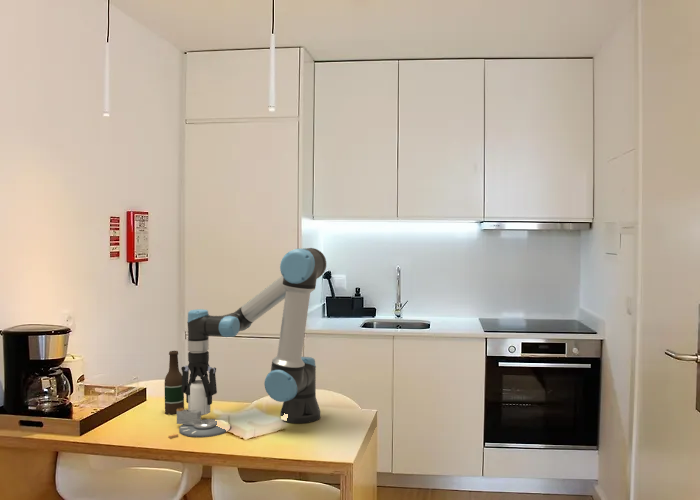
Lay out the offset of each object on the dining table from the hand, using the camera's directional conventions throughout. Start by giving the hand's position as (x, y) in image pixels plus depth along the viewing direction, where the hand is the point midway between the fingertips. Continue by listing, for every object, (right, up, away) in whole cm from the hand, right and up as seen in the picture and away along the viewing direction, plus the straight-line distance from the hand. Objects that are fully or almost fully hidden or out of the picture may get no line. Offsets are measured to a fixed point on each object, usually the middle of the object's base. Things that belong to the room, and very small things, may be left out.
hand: (199, 412), depth 233 cm
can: (0, -1, 0) cm, 1 cm away
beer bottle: (-12, -3, +11) cm, 17 cm away
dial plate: (+5, -3, -11) cm, 12 cm away
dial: (+1, -2, -10) cm, 10 cm away
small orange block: (-4, -3, -20) cm, 20 cm away
